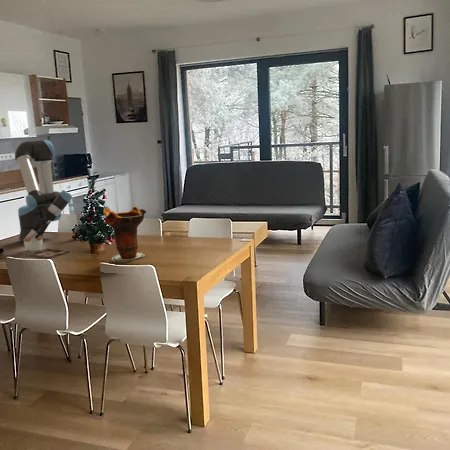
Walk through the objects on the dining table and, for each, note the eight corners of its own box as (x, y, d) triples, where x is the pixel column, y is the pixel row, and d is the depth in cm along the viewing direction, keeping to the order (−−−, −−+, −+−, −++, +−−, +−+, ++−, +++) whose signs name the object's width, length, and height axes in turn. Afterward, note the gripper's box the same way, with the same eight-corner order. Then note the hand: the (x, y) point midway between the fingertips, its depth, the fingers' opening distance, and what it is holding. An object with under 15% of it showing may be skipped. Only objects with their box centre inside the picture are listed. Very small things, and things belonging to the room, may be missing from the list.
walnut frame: (48, 249, 297) (48, 247, 296) (69, 252, 287) (69, 250, 287) (26, 256, 283) (25, 254, 283) (47, 259, 274) (47, 257, 274)
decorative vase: (158, 254, 269) (151, 204, 263) (121, 266, 254) (113, 213, 248) (137, 249, 284) (131, 201, 278) (101, 259, 270) (93, 209, 264)
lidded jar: (28, 249, 302) (26, 234, 300) (45, 247, 303) (44, 232, 301) (22, 253, 292) (20, 237, 290) (41, 251, 292) (39, 236, 291)
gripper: (62, 219, 291) (38, 248, 286) (52, 214, 312) (30, 241, 307) (51, 211, 287) (27, 240, 283) (42, 206, 308) (20, 234, 304)
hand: (29, 240), depth 295 cm, fingers open, 13 cm apart
